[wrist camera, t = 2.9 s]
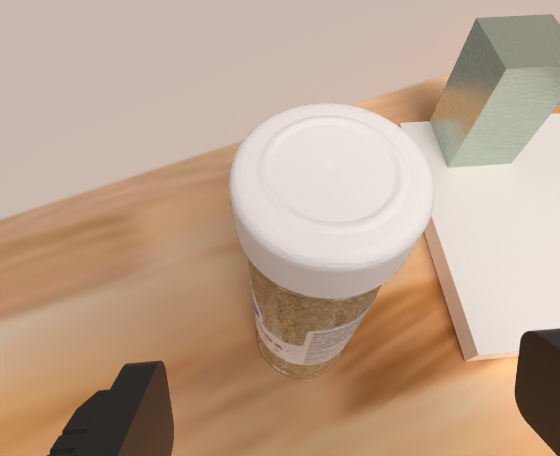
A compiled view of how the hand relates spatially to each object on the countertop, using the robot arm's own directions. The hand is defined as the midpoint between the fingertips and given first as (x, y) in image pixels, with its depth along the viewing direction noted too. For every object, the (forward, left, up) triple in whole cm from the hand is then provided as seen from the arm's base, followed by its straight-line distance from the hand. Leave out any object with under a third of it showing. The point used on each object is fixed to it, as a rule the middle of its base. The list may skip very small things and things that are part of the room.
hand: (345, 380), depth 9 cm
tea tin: (+12, +15, -9) cm, 21 cm away
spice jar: (0, +4, -11) cm, 12 cm away
